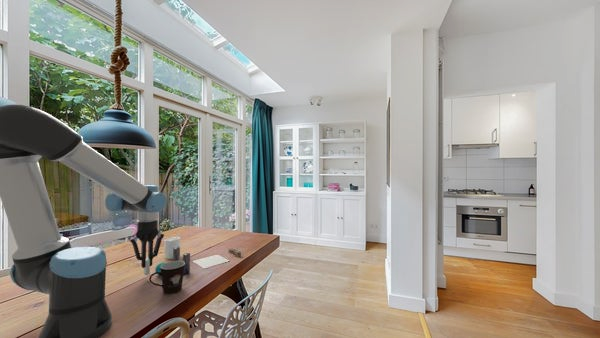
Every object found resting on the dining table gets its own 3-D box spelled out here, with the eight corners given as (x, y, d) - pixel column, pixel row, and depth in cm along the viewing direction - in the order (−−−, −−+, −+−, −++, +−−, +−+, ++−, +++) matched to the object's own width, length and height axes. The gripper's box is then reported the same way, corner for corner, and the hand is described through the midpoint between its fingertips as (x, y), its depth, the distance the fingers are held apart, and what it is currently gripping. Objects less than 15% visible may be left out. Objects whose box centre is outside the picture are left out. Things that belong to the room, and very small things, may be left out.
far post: (180, 266, 115) (180, 247, 115) (174, 267, 113) (174, 249, 113) (178, 264, 117) (178, 246, 117) (171, 266, 115) (172, 247, 115)
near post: (190, 273, 106) (191, 254, 106) (184, 275, 104) (184, 255, 104) (188, 271, 108) (188, 252, 108) (181, 273, 106) (181, 254, 106)
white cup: (160, 258, 125) (160, 240, 125) (171, 254, 133) (172, 236, 133) (172, 260, 123) (172, 241, 123) (183, 255, 131) (183, 237, 131)
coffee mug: (185, 283, 96) (186, 259, 97) (183, 293, 88) (183, 267, 89) (153, 288, 92) (154, 263, 92) (148, 299, 84) (148, 271, 84)
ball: (157, 266, 101) (158, 278, 101) (170, 261, 105) (171, 273, 105) (152, 263, 104) (153, 275, 105) (165, 259, 109) (166, 270, 109)
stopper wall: (240, 256, 129) (241, 252, 129) (237, 257, 127) (237, 252, 127) (231, 252, 136) (231, 248, 136) (228, 253, 134) (228, 248, 134)
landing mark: (229, 261, 122) (229, 260, 122) (203, 268, 111) (203, 268, 111) (217, 254, 131) (217, 254, 131) (192, 261, 121) (192, 261, 121)
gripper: (161, 217, 108) (160, 267, 108) (127, 221, 99) (126, 276, 98) (166, 219, 103) (166, 272, 103) (131, 223, 94) (130, 282, 93)
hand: (146, 274), depth 100 cm, fingers closed
